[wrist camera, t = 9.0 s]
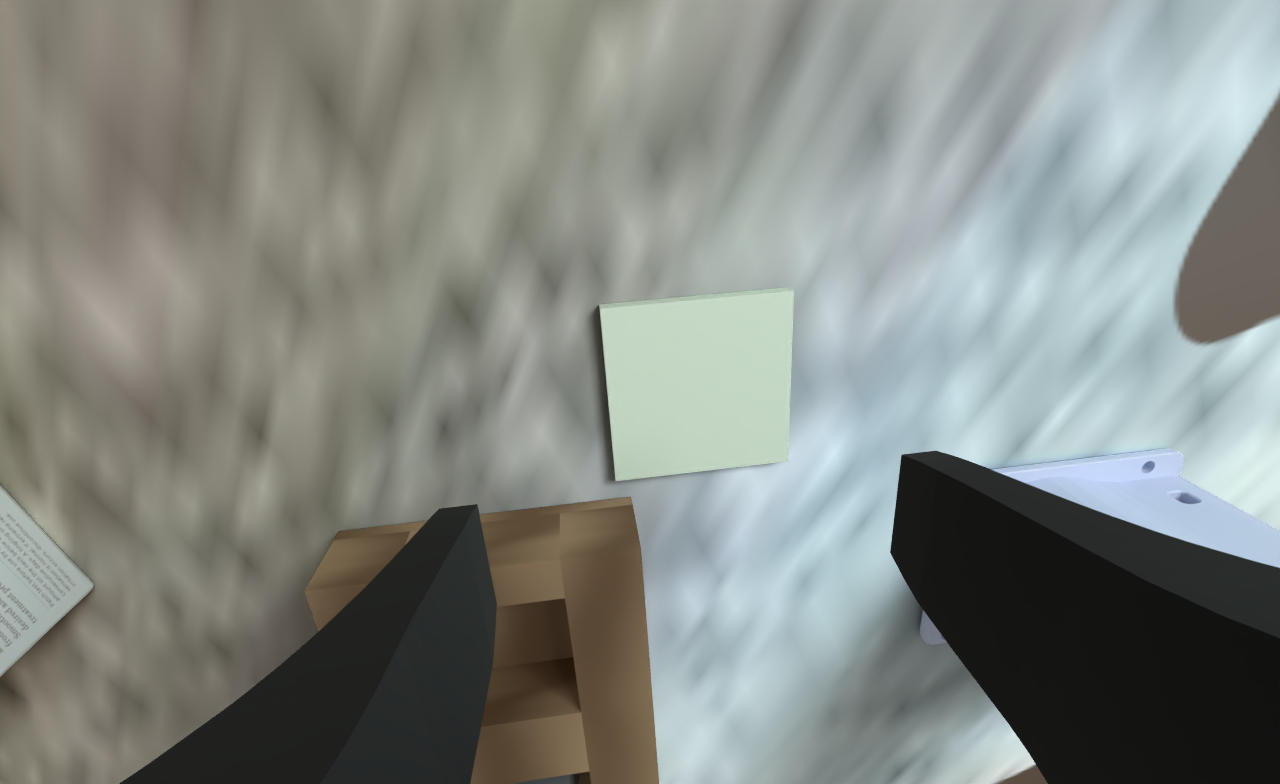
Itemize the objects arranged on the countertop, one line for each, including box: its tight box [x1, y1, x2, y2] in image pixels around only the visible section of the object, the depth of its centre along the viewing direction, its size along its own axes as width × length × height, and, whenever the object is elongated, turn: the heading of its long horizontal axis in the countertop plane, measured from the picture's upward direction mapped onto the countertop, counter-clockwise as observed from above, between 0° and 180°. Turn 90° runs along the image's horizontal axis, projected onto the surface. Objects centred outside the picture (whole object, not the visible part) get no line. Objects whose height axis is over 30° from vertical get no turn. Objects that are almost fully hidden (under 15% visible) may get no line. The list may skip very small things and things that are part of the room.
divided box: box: [304, 497, 659, 784], centre depth 23 cm, size 10×16×3 cm, turn 4°
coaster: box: [599, 287, 794, 481], centre depth 20 cm, size 6×6×1 cm
